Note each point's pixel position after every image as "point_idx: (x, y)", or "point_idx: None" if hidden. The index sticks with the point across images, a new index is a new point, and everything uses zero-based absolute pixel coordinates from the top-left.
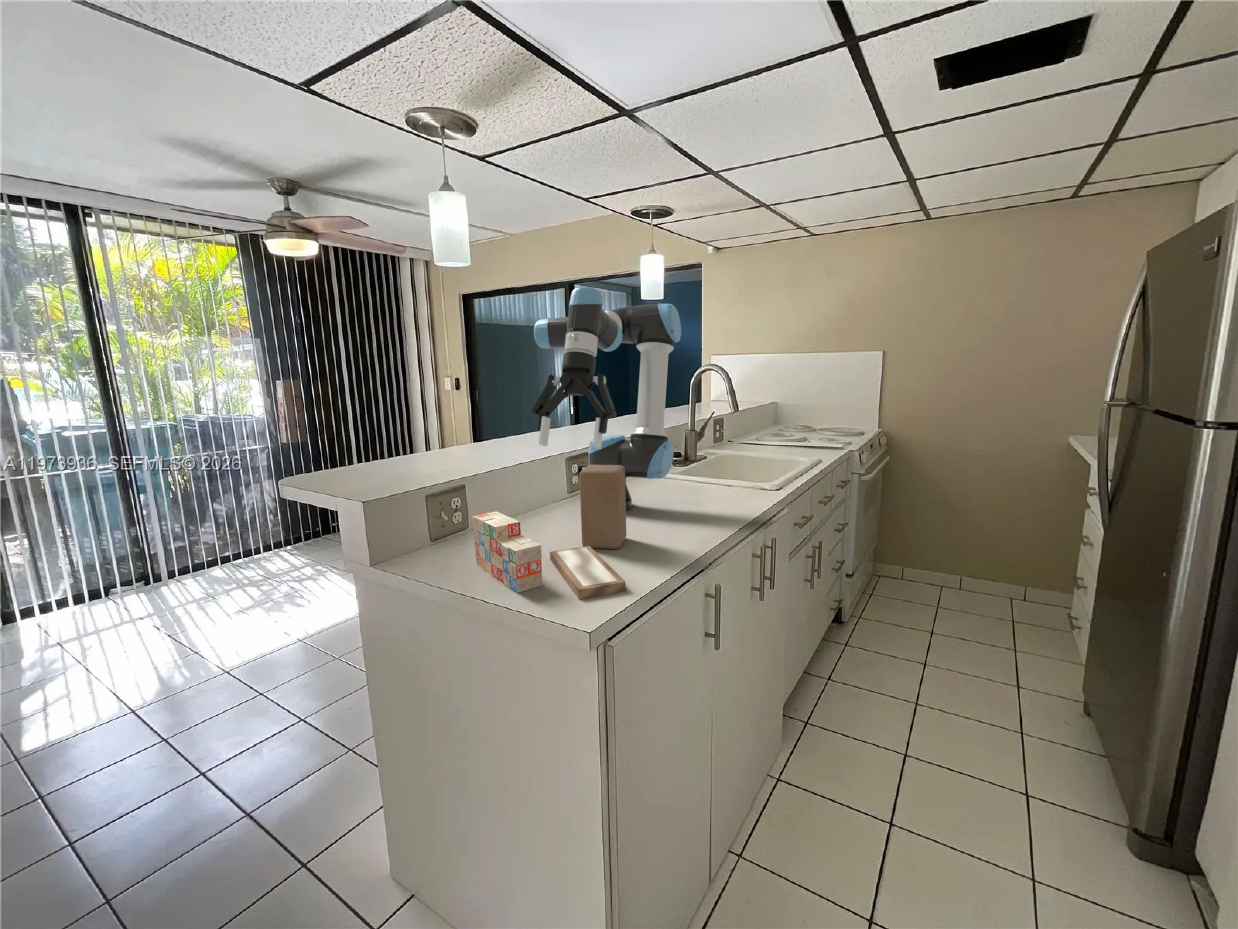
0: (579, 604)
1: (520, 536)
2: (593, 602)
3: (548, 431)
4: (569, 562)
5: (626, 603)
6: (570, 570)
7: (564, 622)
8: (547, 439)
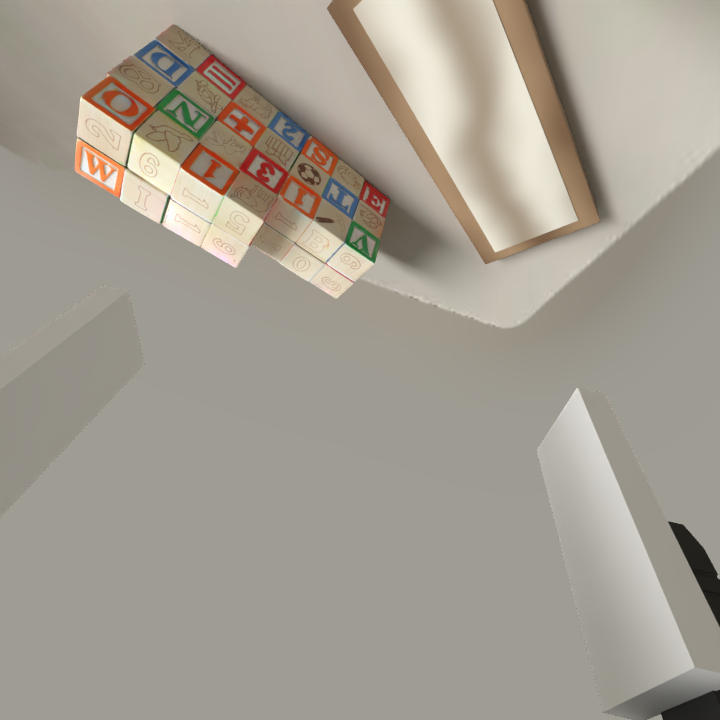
0: (489, 266)
1: (288, 212)
2: (517, 258)
3: (37, 375)
4: (429, 114)
5: (588, 258)
6: (446, 170)
7: (473, 314)
8: (93, 329)
